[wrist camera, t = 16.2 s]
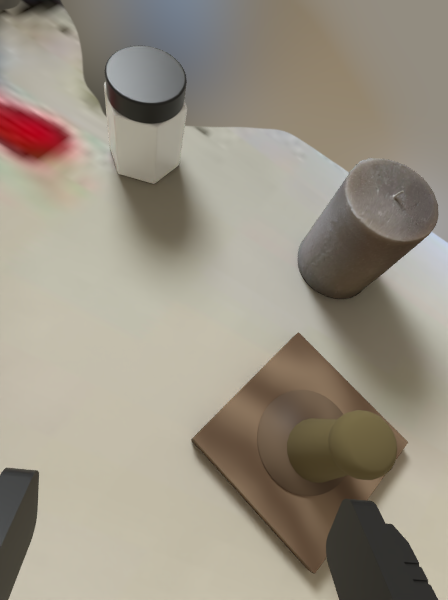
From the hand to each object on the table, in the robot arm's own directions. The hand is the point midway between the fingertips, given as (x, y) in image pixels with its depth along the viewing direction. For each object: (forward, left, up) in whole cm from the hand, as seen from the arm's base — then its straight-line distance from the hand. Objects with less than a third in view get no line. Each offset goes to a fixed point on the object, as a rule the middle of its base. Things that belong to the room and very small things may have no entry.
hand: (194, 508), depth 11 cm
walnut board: (+13, -8, -31) cm, 34 cm away
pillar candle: (+32, +3, -31) cm, 45 cm away
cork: (+13, -9, -29) cm, 33 cm away
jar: (+24, +29, -31) cm, 49 cm away
